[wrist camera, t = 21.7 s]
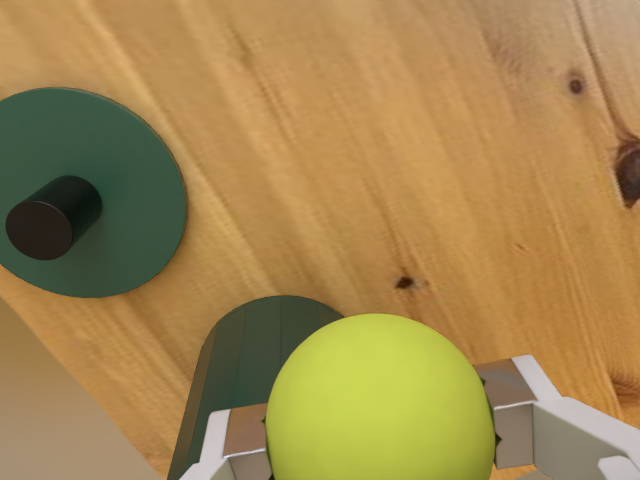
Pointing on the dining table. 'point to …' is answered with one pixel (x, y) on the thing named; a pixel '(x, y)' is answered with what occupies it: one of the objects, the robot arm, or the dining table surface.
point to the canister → (244, 363)
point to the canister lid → (85, 194)
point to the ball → (379, 406)
